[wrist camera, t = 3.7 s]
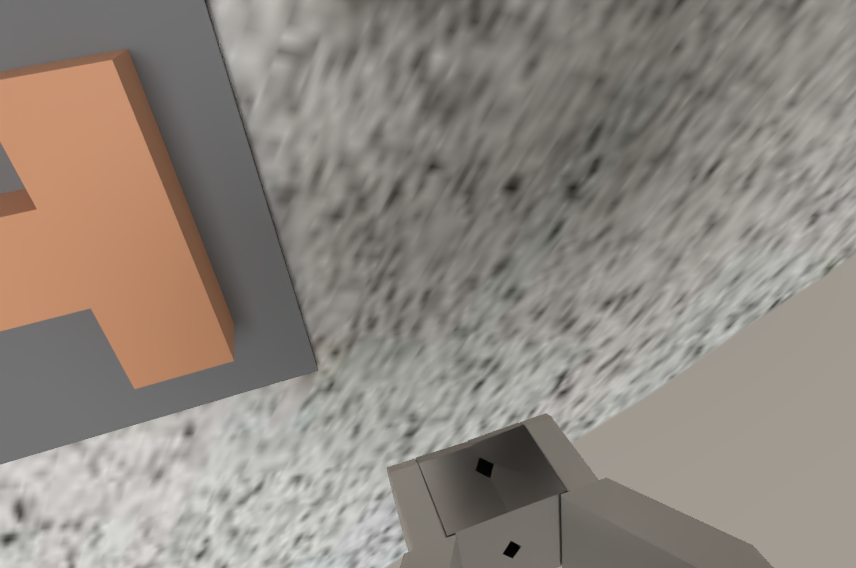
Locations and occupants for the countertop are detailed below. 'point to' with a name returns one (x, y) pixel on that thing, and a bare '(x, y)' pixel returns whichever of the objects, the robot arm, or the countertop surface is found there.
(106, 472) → the countertop surface
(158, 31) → the board
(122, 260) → the t block
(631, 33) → the countertop surface
